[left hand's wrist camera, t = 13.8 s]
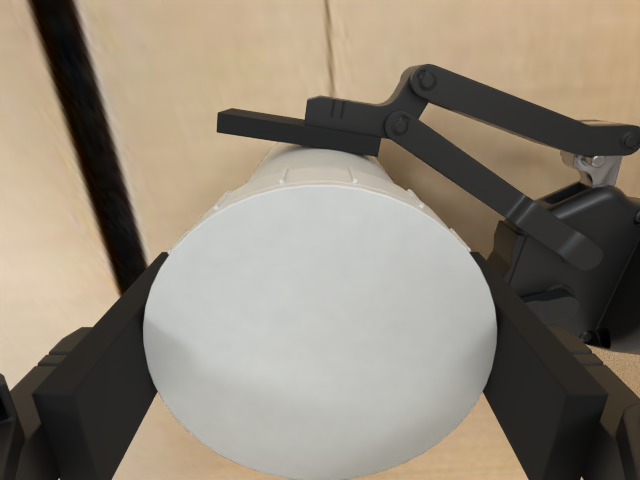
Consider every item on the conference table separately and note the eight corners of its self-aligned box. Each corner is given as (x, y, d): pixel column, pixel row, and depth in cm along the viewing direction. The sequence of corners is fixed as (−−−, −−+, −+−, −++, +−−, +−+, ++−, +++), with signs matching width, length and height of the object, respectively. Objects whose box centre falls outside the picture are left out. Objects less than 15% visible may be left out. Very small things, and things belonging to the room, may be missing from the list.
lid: (120, 199, 11) (79, 223, 9) (462, 132, 10) (493, 143, 8) (217, 445, 14) (201, 499, 12) (479, 406, 14) (505, 457, 12)
